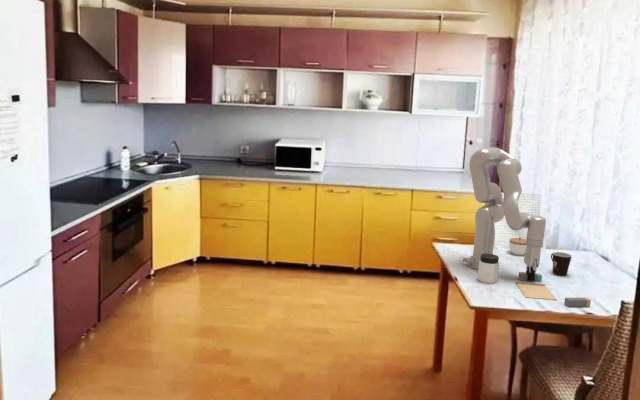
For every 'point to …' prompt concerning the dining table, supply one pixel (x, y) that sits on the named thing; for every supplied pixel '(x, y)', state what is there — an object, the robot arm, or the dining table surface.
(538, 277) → the marker
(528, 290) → the notepad
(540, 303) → the dining table surface
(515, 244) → the lidded jar
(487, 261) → the jar
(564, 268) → the coffee mug
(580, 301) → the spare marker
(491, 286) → the dining table surface
